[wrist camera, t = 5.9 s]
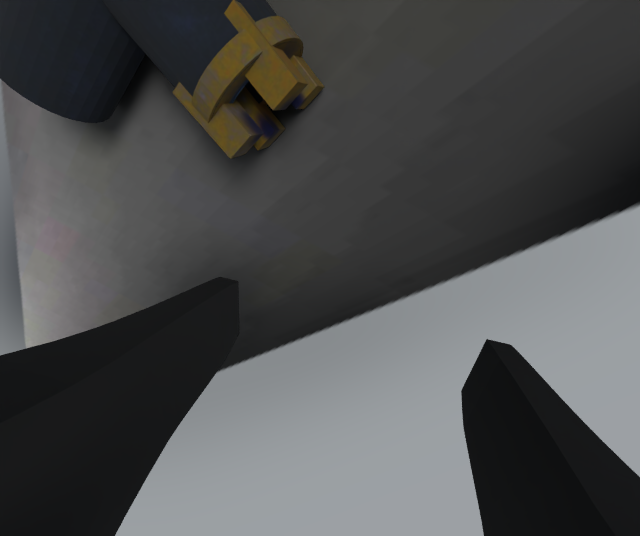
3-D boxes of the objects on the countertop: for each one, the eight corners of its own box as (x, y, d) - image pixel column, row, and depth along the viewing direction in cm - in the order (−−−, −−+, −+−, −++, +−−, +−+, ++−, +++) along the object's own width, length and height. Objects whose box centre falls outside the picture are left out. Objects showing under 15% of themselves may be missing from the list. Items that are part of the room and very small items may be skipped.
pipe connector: (439, -91, 8) (155, 238, 15) (429, -20, 13) (215, 207, 20) (74, -702, 6) (-59, 23, 13) (223, -344, 10) (65, 44, 17)
